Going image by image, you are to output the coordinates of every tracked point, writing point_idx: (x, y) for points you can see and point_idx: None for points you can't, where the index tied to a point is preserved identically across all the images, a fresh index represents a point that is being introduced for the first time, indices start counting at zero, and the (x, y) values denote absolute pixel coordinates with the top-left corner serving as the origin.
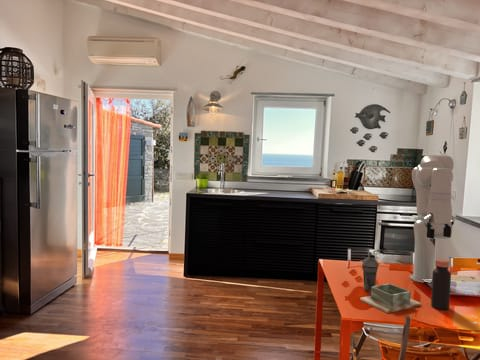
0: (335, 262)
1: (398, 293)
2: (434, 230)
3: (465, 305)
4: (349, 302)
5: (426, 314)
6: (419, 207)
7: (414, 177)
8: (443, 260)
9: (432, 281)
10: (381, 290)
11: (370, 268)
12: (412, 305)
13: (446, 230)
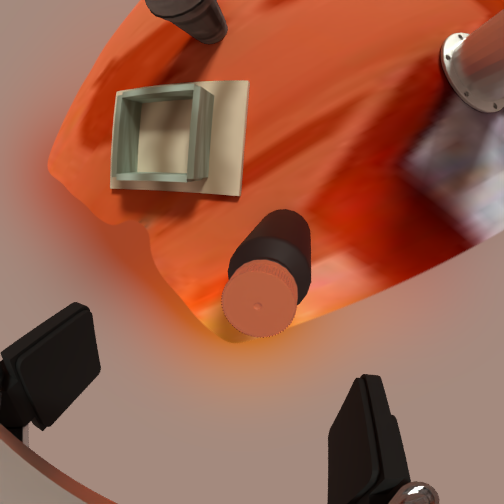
0: None
1: (140, 175)
2: (53, 421)
3: (372, 269)
4: (90, 100)
5: (194, 244)
6: None
7: None
8: (270, 307)
9: (250, 234)
10: (117, 133)
11: (156, 14)
12: (199, 192)
13: (347, 471)
